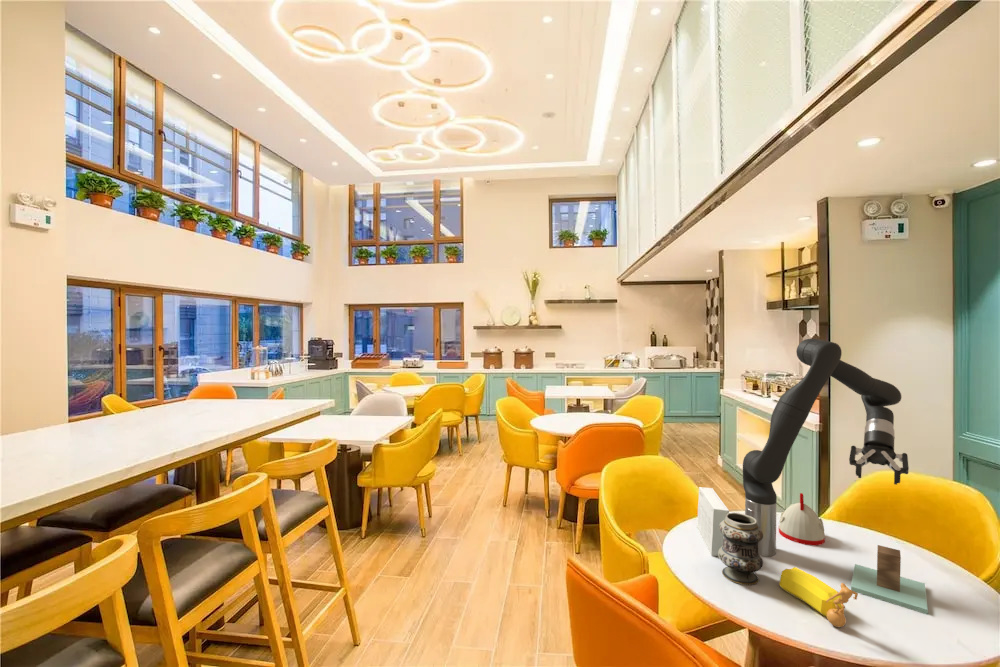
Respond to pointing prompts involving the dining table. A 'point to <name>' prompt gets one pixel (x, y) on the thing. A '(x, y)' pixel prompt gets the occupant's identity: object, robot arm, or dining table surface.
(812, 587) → the yellow faceted bar
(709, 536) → the skincare box
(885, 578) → the walnut block
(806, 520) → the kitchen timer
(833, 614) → the figurine
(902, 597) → the teal board
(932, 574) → the dining table surface
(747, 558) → the apothecary jar
